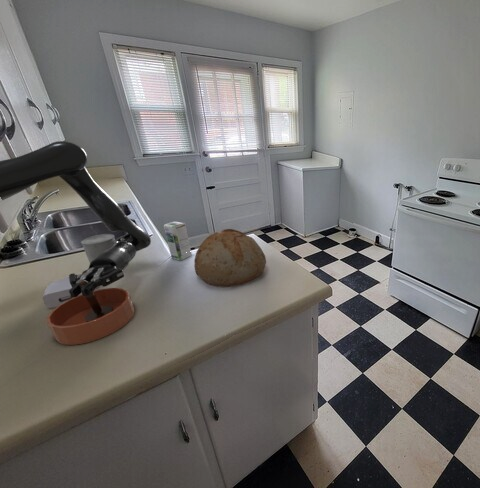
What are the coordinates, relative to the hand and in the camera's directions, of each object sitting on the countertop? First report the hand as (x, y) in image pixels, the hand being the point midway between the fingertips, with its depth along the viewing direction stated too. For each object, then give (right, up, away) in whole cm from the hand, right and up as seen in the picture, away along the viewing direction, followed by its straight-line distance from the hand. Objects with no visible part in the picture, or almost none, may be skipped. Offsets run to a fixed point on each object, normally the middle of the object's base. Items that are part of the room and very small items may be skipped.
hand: (78, 293), depth 68 cm
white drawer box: (-21, -4, +20) cm, 29 cm away
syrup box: (+3, +7, +44) cm, 45 cm away
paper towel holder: (-1, -8, +8) cm, 11 cm away
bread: (+27, +2, +33) cm, 43 cm away
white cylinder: (-20, +3, +35) cm, 41 cm away
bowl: (-1, -9, +7) cm, 11 cm away
